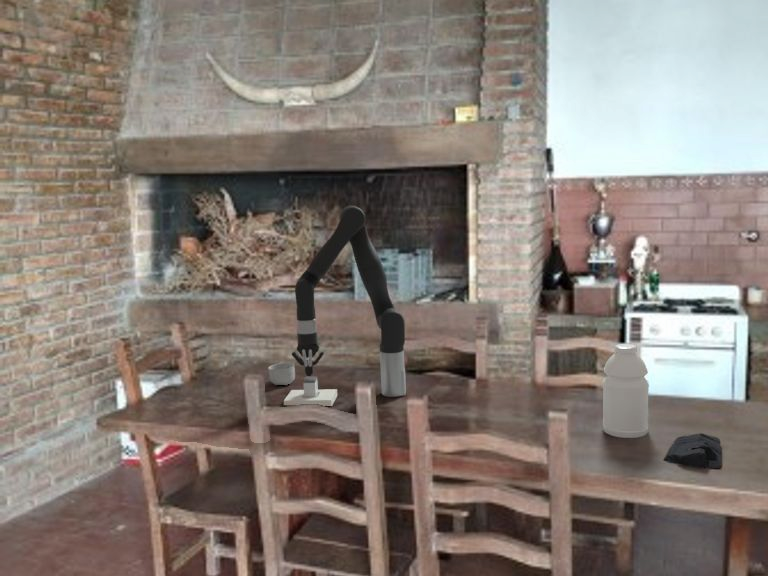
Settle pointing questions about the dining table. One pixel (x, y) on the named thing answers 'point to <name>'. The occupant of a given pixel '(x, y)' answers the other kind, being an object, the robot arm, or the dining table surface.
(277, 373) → the teacup
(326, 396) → the socket plate
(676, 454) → the dark slate chunk
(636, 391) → the bottle
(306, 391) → the plug
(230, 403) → the dining table surface
